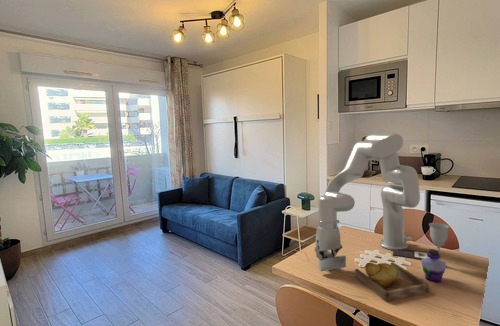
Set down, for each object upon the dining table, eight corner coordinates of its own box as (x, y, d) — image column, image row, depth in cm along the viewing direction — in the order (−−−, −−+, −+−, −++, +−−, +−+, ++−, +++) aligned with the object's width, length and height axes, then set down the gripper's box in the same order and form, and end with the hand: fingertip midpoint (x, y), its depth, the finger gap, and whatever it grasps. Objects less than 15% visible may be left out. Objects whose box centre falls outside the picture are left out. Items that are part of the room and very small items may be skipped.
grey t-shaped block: (330, 254, 132) (330, 244, 131) (345, 267, 119) (345, 256, 119) (307, 258, 129) (307, 247, 129) (320, 271, 117) (320, 260, 116)
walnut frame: (393, 268, 118) (393, 262, 118) (429, 292, 101) (429, 284, 100) (355, 276, 114) (355, 269, 114) (385, 301, 97) (385, 293, 96)
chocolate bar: (393, 247, 138) (436, 253, 129) (393, 249, 138) (436, 255, 129) (392, 254, 130) (438, 261, 121) (392, 256, 130) (438, 263, 121)
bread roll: (386, 273, 115) (386, 254, 115) (407, 284, 106) (407, 264, 106) (362, 280, 111) (362, 261, 110) (381, 292, 102) (381, 272, 101)
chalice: (449, 264, 119) (450, 224, 117) (447, 271, 114) (448, 229, 112) (429, 260, 124) (430, 221, 122) (426, 265, 119) (427, 225, 117)
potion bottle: (416, 278, 110) (417, 250, 108) (425, 271, 115) (425, 243, 114) (441, 287, 103) (442, 257, 102) (449, 279, 108) (450, 250, 107)
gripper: (340, 219, 125) (340, 257, 127) (306, 223, 121) (308, 263, 123) (349, 224, 118) (350, 264, 120) (314, 229, 114) (315, 270, 116)
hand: (328, 263), depth 122 cm, fingers closed on grey t-shaped block, 3 cm apart
